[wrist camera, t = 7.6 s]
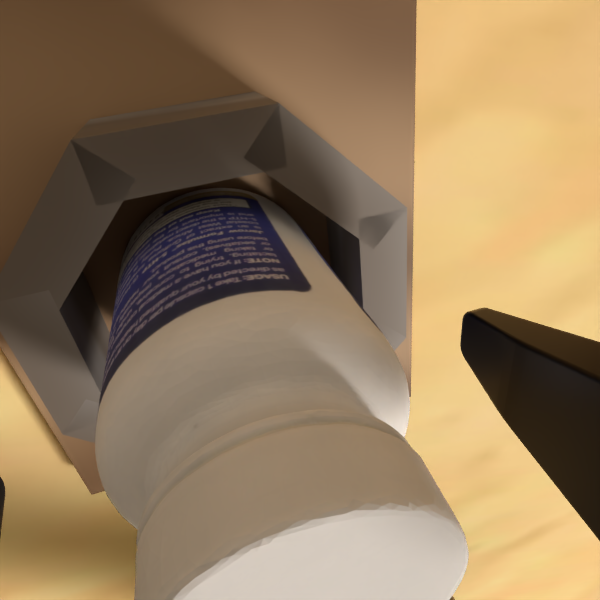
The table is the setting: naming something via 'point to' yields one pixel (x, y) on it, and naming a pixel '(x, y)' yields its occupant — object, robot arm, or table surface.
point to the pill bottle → (261, 420)
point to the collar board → (191, 160)
